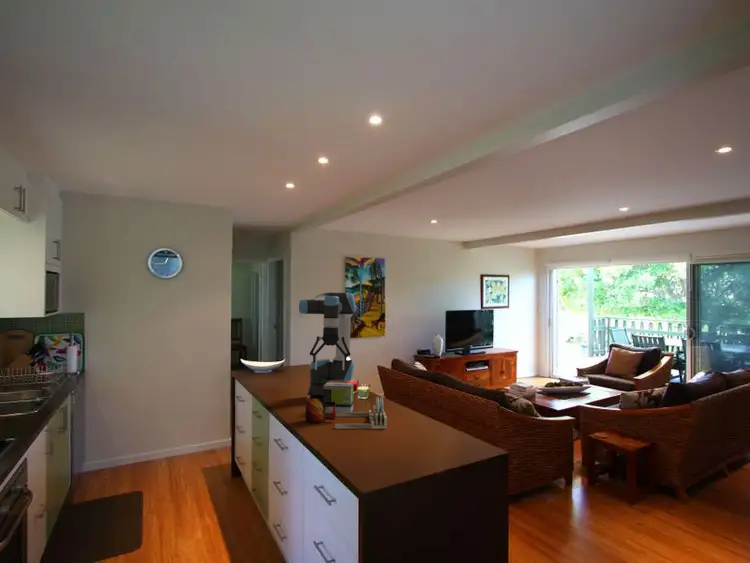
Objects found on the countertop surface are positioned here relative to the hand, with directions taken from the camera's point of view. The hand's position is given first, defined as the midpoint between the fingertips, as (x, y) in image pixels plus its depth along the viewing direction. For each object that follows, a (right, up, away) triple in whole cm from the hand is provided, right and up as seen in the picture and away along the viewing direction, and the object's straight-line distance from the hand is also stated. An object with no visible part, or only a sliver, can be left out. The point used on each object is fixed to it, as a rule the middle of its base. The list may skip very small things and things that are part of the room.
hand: (329, 369), depth 209 cm
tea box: (+3, -26, +16) cm, 31 cm away
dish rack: (+15, -25, -3) cm, 30 cm away
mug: (-5, -25, -2) cm, 26 cm away
